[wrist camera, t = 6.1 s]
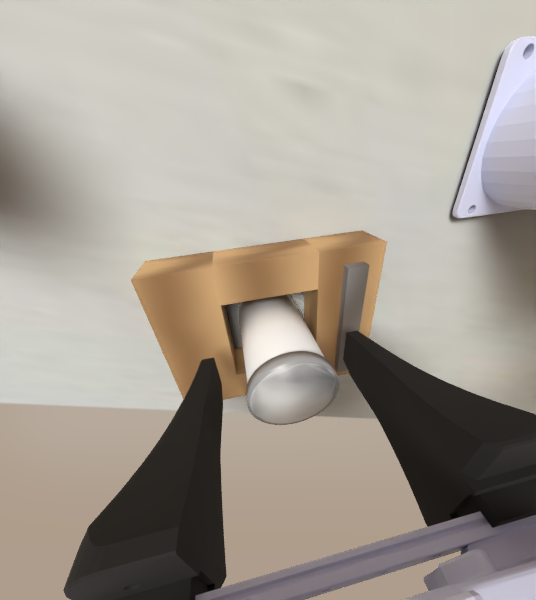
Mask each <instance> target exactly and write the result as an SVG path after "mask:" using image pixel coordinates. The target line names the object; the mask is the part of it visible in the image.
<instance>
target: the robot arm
mask: <svg viewBox="0 0 536 600" xmlns="http://www.w3.org/2000/svg"><path fill="white" fill-rule="evenodd" d="M524 50H525V51H524ZM523 53H524V55H523ZM468 209H469V210H468ZM524 209H532V210H536V36H529V37H521V38H519V39H516V40H514V41H512V42H511V43H510V44H508V46H507V47H506V49H505V50H504V52H503V55H502V58H501V61H500V64H499V67H498V70H497V73H496V76H495V80H494V83H493V86H492V89H491V92H490V95H489V98H488V102H487V105H486V108H485V111H484V114H483V117H482V120H481V124H480V127H479V130H478V133H477V136H476V139H475V142H474V146H473V149H472V152H471V155H470V158H469V161H468V164H467V168H466V171H465V174H464V177H463V180H462V183H461V186H460V190H459V193H458V196H457V199H456V202H455V205H454V208H453V213H452V214H453V216H454V217H455V218H468V217H475V216H482V215H489V214H496V213H503V212H510V211H517V210H524ZM343 360H344V362H345V365H346V367H347V369H348V371H349V373H350V375H351V377H352V379H353V380H354V382H355V383H356V385H357V387H358V388H359V390H360V391H361V393H362V394H363V396H364V398H365V399H366V401H367V402H368V404H369V405H370V407H371V409H372V410H373V412H374V413H375V415H376V417H377V418H378V420H379V422H380V424H381V426H382V428H383V430H384V432H385V434H386V436H387V437H388V439H389V442H390V444H391V446H392V447H393V450H394V452H395V454H396V456H397V458H398V460H399V462H400V464H401V467H402V468H403V471H404V473H405V475H406V478H407V480H408V482H409V484H410V487H411V489H412V491H413V494H414V496H415V498H416V501H417V503H418V505H419V508H420V510H421V513H422V515H423V517H424V520H425V523H426V524H427V526H428V527H426V528H422V529H419V530H415V531H412V532H408V533H405V534H402V535H398V536H395V537H392V538H388V539H385V540H381V541H378V542H375V543H371V544H368V545H364V546H361V547H358V548H355V549H351V550H348V551H344V552H341V553H338V554H334V555H331V556H327V557H324V558H321V559H317V560H314V561H311V562H307V563H304V564H300V565H297V566H293V567H290V568H287V569H283V570H280V571H277V572H274V573H270V574H267V575H263V576H260V577H256V578H253V579H250V580H246V581H243V582H240V583H236V584H233V585H229V586H226V587H223V588H221V586H222V584H223V583H224V581H225V578H226V564H225V548H224V535H223V534H224V532H223V516H222V515H223V514H222V492H221V464H220V448H221V430H222V411H223V395H222V383H221V379H220V376H219V372H218V369H217V365H216V362H215V358H208V359H203V360H202V361H201V362H200V365H199V367H198V370H197V372H196V375H195V377H194V379H193V381H192V384H191V386H190V388H189V390H188V392H187V394H186V396H185V398H184V400H183V402H182V403H181V405H180V407H179V409H178V411H177V412H176V414H175V416H174V418H173V419H172V421H171V423H170V424H169V426H168V428H167V429H166V431H165V432H164V434H163V435H162V437H161V438H160V440H159V441H158V443H157V444H156V446H155V447H154V448H153V450H152V451H151V453H150V454H149V455H148V457H147V458H146V459H145V461H144V462H143V463H142V465H141V466H140V467H139V468H138V470H137V471H136V472H135V473H134V475H133V476H132V477H131V479H130V480H129V481H128V482H127V483H126V485H125V486H124V487H123V488H122V490H121V491H120V492H119V493H118V494H117V495H116V497H115V498H114V499H113V500H112V501H111V502H110V503H109V504H108V506H107V507H106V508H105V509H104V510H103V511H102V512H101V513H100V515H99V516H98V517H97V518H96V519H95V520H94V521H93V522H92V524H90V526H89V527H88V529H87V532H86V534H85V536H84V538H83V540H82V542H81V545H80V547H79V550H78V552H77V555H76V558H75V560H74V563H73V566H72V569H71V571H70V574H69V577H68V579H67V582H66V585H65V588H64V593H65V595H66V597H67V598H69V599H71V600H305V599H308V598H311V597H314V596H317V595H321V594H324V593H327V592H330V591H333V590H337V589H340V588H342V587H346V586H349V585H352V584H355V583H359V582H362V581H365V580H369V579H372V578H375V577H378V576H381V575H385V574H388V573H391V572H394V571H397V570H401V569H404V568H407V567H410V566H413V565H416V564H420V563H423V562H426V561H429V560H432V559H435V558H439V557H442V556H445V555H448V554H451V553H455V552H458V551H461V550H462V551H461V555H460V556H458V557H455V558H453V559H450V560H448V561H446V562H443V563H441V564H439V566H438V568H437V569H436V570H434V571H433V572H432V573H430V574H429V575H427V576H425V577H424V582H425V584H426V586H427V588H428V590H429V591H428V592H425V593H421V594H418V595H415V596H412V597H409V598H405V599H402V600H536V415H535V414H533V413H530V412H526V411H523V410H520V409H517V408H514V407H511V406H507V405H504V404H501V403H498V402H495V401H492V400H490V399H487V398H484V397H481V396H479V395H476V394H474V393H471V392H468V391H466V390H463V389H461V388H459V387H456V386H454V385H452V384H449V383H447V382H445V381H443V380H440V379H438V378H436V377H434V376H432V375H430V374H428V373H426V372H424V371H422V370H420V369H418V368H416V367H415V366H413V365H411V364H409V363H408V362H406V361H404V360H402V359H401V358H399V357H397V356H396V355H394V354H392V353H391V352H389V351H388V350H386V349H384V348H383V347H381V346H380V345H378V344H377V343H375V342H374V341H372V340H371V339H369V338H368V337H366V336H365V335H363V334H362V333H360V332H358V331H352V332H346V339H345V348H344V356H343Z"/></svg>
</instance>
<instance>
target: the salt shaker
mask: <svg viewBox="0 0 536 600" xmlns="http://www.w3.org/2000/svg"><path fill="white" fill-rule="evenodd" d="M238 316H239V323H240V331H241V339H242V346H243V354H244V361H245V369H246V377H247V387H246V394H247V402H248V408H249V410H250V412H251V414H252V415H253V416H254V417H255V418H257V419H258V420H260V421H262V422H265V423H268V424H274V425H286V424H293V423H297V422H301V421H304V420H306V419H309V418H311V417H313V416H315V415H317V414H318V413H320V412H321V411H323V410H324V409H325V408H326V407H327V406H328V405H329V404H330V403H331V402H332V401H333V399H334V398H335V396H336V394H337V392H338V389H339V379H338V376H337V374H336V372H335V371H334V369H333V367H332V365H331V364H330V362H329V361H328V360H327V359H326V358H325V357H324V355H323V354H322V352H321V350H320V348H319V346H318V345H317V343H316V341H315V339H314V337H313V336H312V334H311V332H310V330H309V328H308V326H307V325H306V323H305V321H304V319H303V317H302V316H301V314H300V312H299V310H298V308H297V307H296V305H295V303H294V301H293V299H292V297H291V296H290V295H289V294H287V295H281V296H275V297H269V298H263V299H257V300H251V301H245V302H241V303H240V306H239V310H238Z"/></svg>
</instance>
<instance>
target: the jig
mask: <svg viewBox="0 0 536 600" xmlns="http://www.w3.org/2000/svg"><path fill="white" fill-rule="evenodd" d="M386 245H387V242H386V241H384V240H382V239H380V238H377V237H375V236H373V235H371V234H369V233H366V232H364V231H356V232H349V233H342V234H335V235H328V236H321V237H313V238H306V239H299V240H292V241H285V242H278V243H271V244H264V245H257V246H250V247H243V248H236V249H229V250H222V251H215V252H208V253H200V254H193V255H186V256H179V257H172V258H165V259H158V260H151V261H145V263H144V264H143V265H142V266H141V268H140V269H139V270H138V272H137V273H136V274H135V275H134V277H133V278H132V279H131V281H132V284H133V286H134V288H135V291H136V293H137V295H138V297H139V300H140V302H141V304H142V306H143V309H144V311H145V313H146V315H147V318H148V320H149V322H150V324H151V327H152V329H153V331H154V333H155V336H156V338H157V340H158V342H159V345H160V347H161V349H162V351H163V354H164V356H165V358H166V360H167V363H168V365H169V367H170V369H171V372H172V374H173V376H174V378H175V381H176V383H177V385H178V387H179V390H180V392H181V394H182V396H183V399H184V398H185V396H186V394H187V392H188V390H189V388H190V386H191V384H192V381H193V379H194V377H195V375H196V372H197V370H198V367H199V365H200V362H201V361H202V360H203V359H208V358H215V362H216V365H217V369H218V372H219V376H220V379H221V383H222V395H223V400H224V399H229V398H234V397H238V396H243V395H247V394H246V387H247V377H246V369H245V361H244V354H243V348H238V349H234V344H233V340H232V335H231V331H230V326H229V322H228V317H227V312H226V308H225V305H227V304H233V303H239V302H245V301H251V300H257V299H263V298H269V297H275V296H281V295H287V294H293V293H299V292H304V321H305V323H306V325H307V326H308V328H309V330H310V332H311V334H312V336H313V337H314V339H315V341H316V343H317V345H318V346H319V348H320V350H321V352H322V354H323V355H324V357H325V358H326V359H327V360H328V361H329V362H330V364H331V365H332V367H333V369H334V371H335V372H336V374H337V375H341V374H346V373H349V371H348V369H347V367H346V365H345V362H344V360H343V356H344V348H345V339H346V332H352V331H358V332H360V333H362V334H363V335H365V336H366V337H368V338H369V335H370V329H371V324H372V319H373V314H374V308H375V303H376V298H377V292H378V287H379V282H380V276H381V271H382V266H383V261H384V255H385V250H386Z"/></svg>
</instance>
